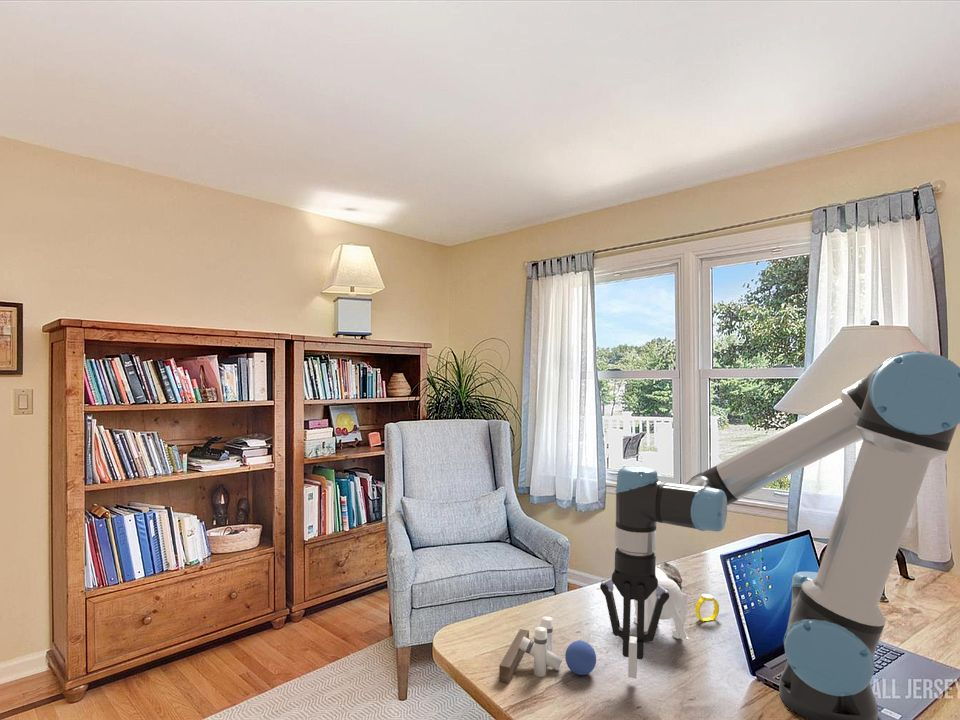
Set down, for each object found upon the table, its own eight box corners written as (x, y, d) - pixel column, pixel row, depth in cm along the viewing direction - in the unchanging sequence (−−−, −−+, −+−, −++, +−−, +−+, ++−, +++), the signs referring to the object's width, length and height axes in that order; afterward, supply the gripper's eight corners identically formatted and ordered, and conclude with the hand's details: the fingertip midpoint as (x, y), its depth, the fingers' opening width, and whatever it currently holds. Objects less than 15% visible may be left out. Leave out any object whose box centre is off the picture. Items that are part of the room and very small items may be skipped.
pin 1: (553, 661, 115) (555, 619, 115) (545, 665, 114) (546, 622, 114) (545, 656, 117) (547, 615, 117) (536, 659, 116) (538, 618, 116)
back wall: (528, 644, 122) (529, 630, 122) (509, 683, 107) (509, 667, 107) (519, 642, 123) (520, 628, 123) (499, 681, 107) (499, 665, 108)
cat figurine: (710, 657, 118) (712, 577, 119) (666, 663, 116) (668, 581, 116) (646, 607, 143) (647, 541, 143) (608, 611, 140) (609, 543, 140)
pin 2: (549, 674, 110) (549, 630, 111) (539, 678, 109) (540, 633, 109) (540, 668, 112) (541, 625, 113) (530, 672, 111) (531, 628, 111)
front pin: (563, 656, 112) (524, 633, 114) (559, 667, 110) (519, 644, 113) (560, 661, 114) (522, 639, 116) (556, 673, 112) (517, 650, 114)
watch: (712, 617, 138) (714, 593, 139) (720, 622, 136) (722, 597, 136) (692, 618, 137) (694, 593, 137) (699, 623, 134) (701, 598, 134)
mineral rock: (671, 597, 150) (671, 581, 150) (642, 589, 155) (642, 573, 155) (690, 582, 161) (691, 567, 161) (663, 575, 166) (663, 560, 166)
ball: (556, 658, 113) (579, 682, 112) (562, 657, 108) (586, 682, 106) (575, 634, 116) (598, 658, 114) (581, 632, 111) (605, 656, 109)
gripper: (671, 547, 109) (668, 670, 109) (602, 539, 114) (599, 658, 113) (671, 560, 102) (668, 691, 102) (598, 551, 106) (595, 677, 106)
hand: (632, 674), depth 108 cm, fingers closed
